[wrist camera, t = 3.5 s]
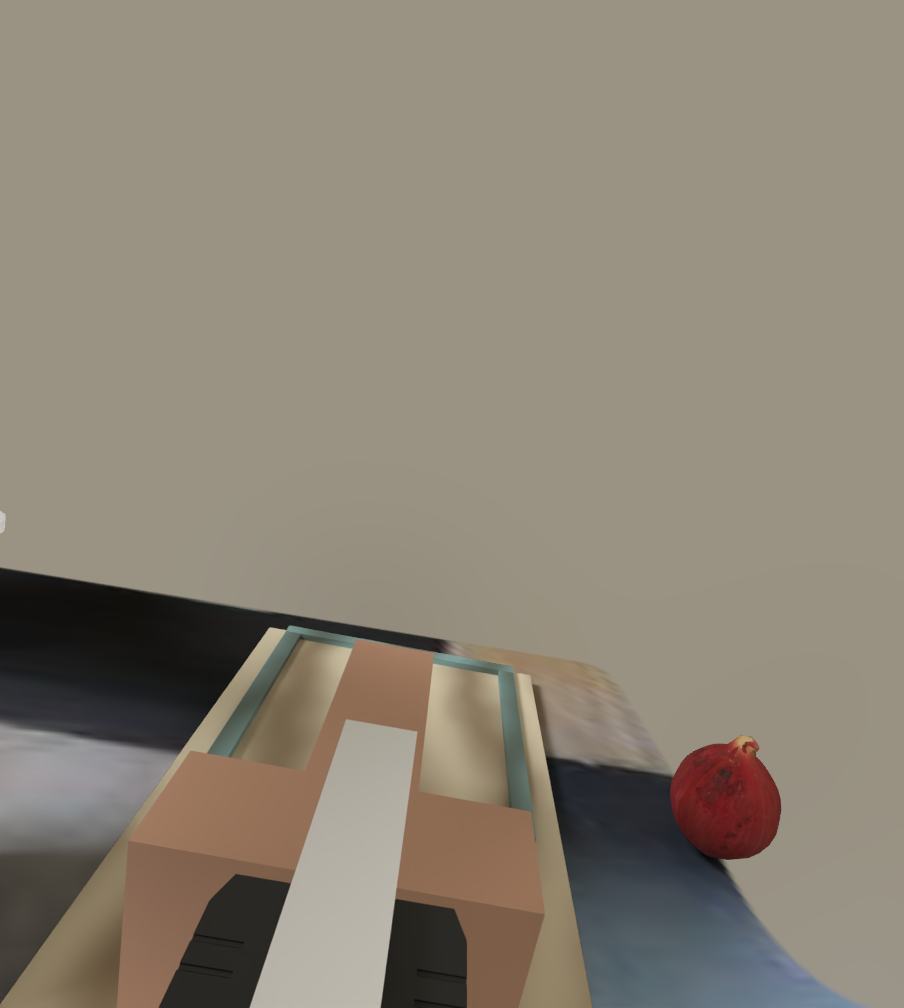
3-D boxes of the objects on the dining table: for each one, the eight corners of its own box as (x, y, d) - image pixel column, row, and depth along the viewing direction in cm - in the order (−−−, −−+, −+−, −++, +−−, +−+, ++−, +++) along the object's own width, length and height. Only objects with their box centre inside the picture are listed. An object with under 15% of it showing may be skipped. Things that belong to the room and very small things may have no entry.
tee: (111, 1093, 20) (128, 840, 17) (257, 790, 33) (278, 624, 31) (476, 1155, 20) (545, 914, 17) (473, 829, 33) (511, 667, 31)
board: (-170, 1269, 16) (-173, 1231, 16) (268, 638, 51) (270, 621, 50) (652, 1401, 16) (667, 1367, 16) (527, 685, 51) (531, 670, 51)
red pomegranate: (723, 912, 33) (771, 786, 31) (636, 834, 37) (672, 720, 35) (775, 871, 36) (820, 756, 34) (690, 805, 40) (725, 699, 38)
